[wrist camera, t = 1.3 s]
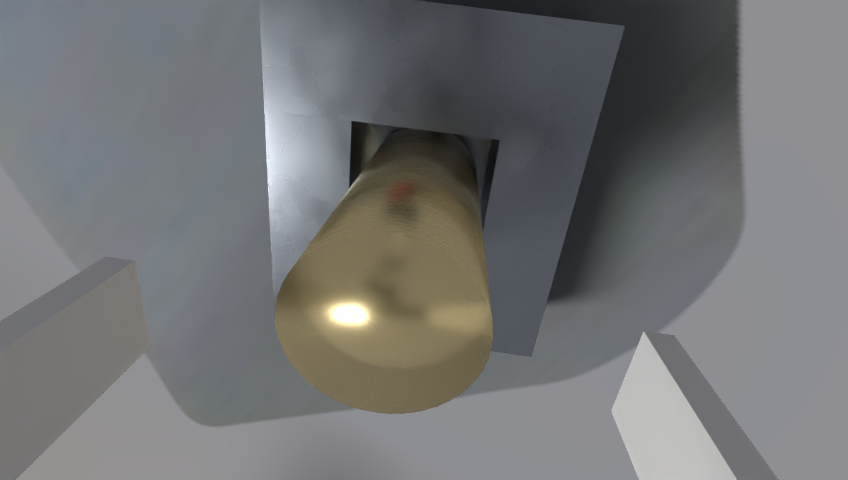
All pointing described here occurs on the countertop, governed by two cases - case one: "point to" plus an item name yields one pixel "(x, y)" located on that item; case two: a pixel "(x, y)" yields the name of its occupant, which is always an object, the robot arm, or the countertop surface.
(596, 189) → the countertop surface
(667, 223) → the countertop surface
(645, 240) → the countertop surface
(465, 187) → the cream rounded cylinder
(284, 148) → the housing
